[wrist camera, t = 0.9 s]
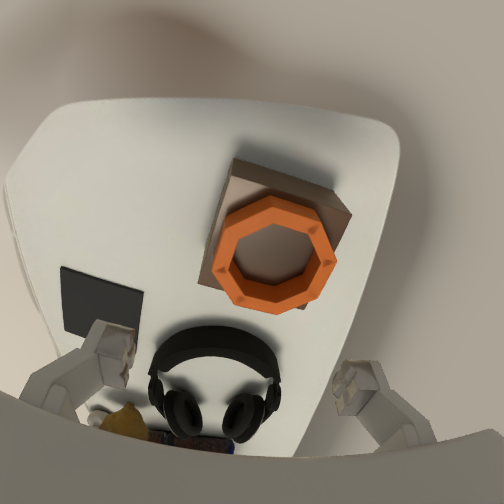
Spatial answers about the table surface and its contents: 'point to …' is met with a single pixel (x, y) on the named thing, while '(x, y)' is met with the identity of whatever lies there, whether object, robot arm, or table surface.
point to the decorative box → (193, 442)
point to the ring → (286, 292)
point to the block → (272, 225)
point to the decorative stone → (126, 423)
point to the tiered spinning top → (96, 418)
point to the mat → (97, 303)
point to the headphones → (220, 345)
